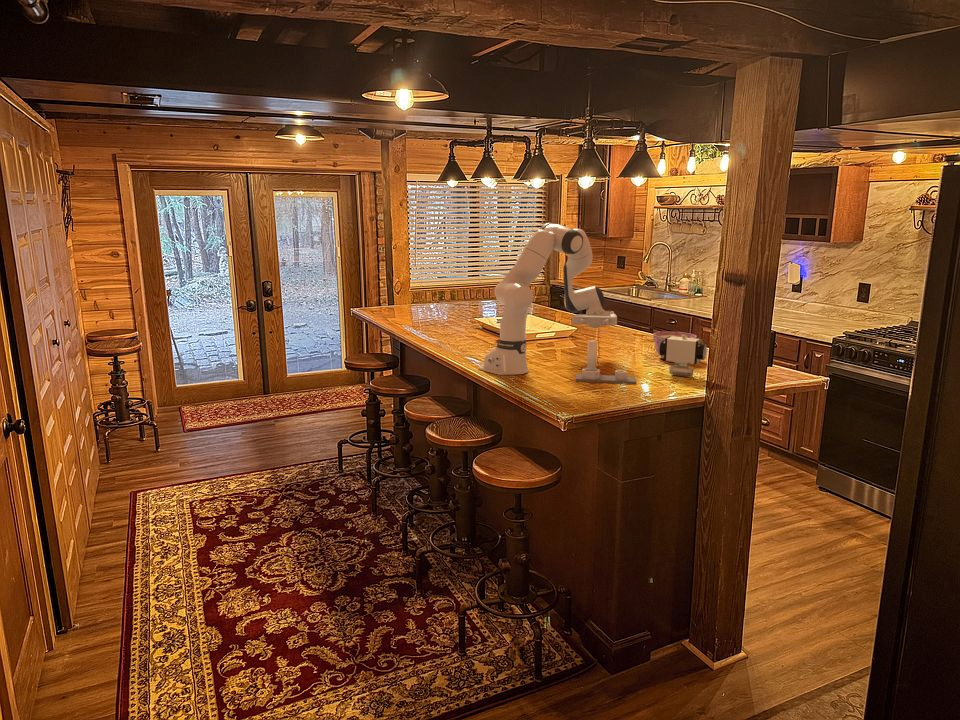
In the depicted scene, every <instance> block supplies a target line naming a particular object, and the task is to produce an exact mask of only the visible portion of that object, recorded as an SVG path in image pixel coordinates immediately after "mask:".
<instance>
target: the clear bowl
mask: <svg viewBox="0 0 960 720" xmlns="http://www.w3.org/2000/svg"><path fill="white" fill-rule="evenodd" d="M652 335H653V341H654V347H655V351H656V354H657V355H659V356H660V357H663V356H661V355H660V352H659V349H660V343H661V341H662V340H665V338H667V337H669V336H673V337H682V335H686V338H695V339H698V338H697V337H698V335H695V334H694V333H689V332H682V331H657V332H654V333H653V334H652ZM663 358H664V357H663Z"/></svg>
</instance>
